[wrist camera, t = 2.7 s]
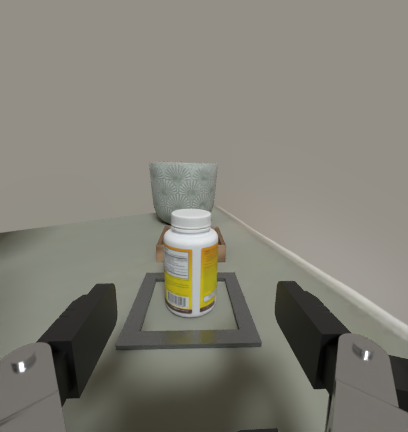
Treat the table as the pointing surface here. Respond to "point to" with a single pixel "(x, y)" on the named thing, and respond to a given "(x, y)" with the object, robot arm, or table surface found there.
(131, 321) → the grey square frame
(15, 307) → the table surface
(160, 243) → the tray
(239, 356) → the table surface
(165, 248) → the supplement bottle
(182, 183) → the planter
